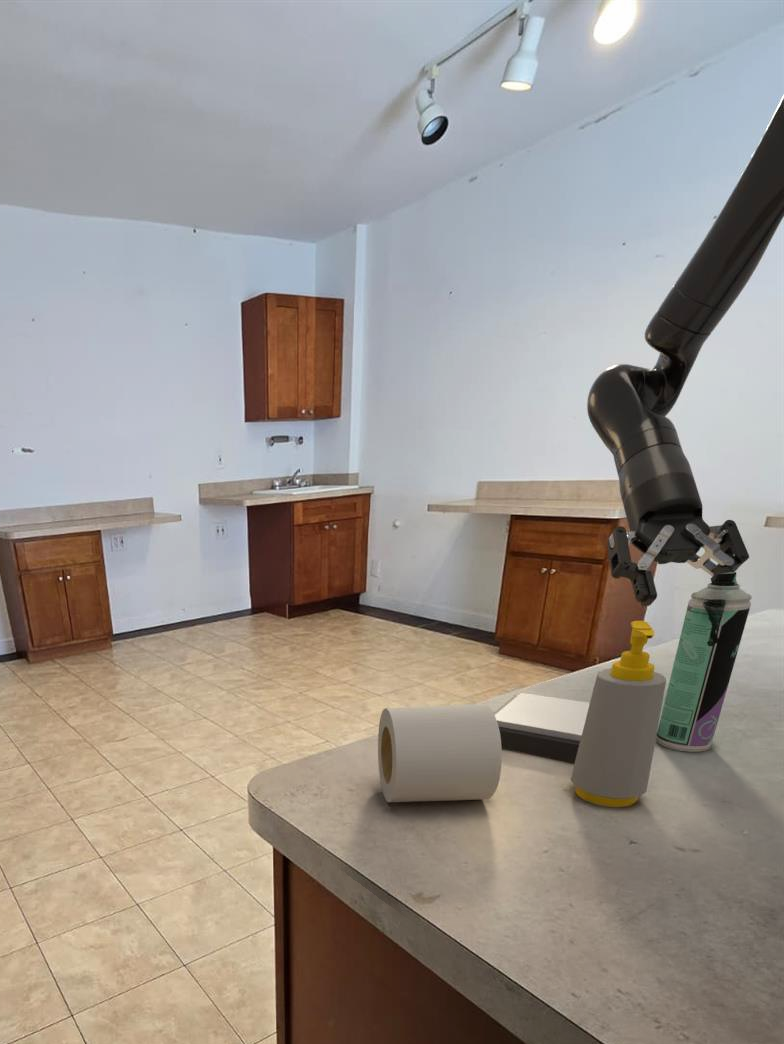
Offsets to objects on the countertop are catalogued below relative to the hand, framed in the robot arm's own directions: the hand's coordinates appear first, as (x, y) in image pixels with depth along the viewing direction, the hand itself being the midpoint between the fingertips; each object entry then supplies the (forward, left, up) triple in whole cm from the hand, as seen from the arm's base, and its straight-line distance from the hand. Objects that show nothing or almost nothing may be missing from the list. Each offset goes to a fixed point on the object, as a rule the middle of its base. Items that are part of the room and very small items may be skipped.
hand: (688, 600), depth 75 cm
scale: (+9, +10, -16) cm, 21 cm away
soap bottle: (+1, +24, -16) cm, 29 cm away
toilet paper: (+15, +34, -16) cm, 41 cm away
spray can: (-3, +5, -16) cm, 17 cm away
